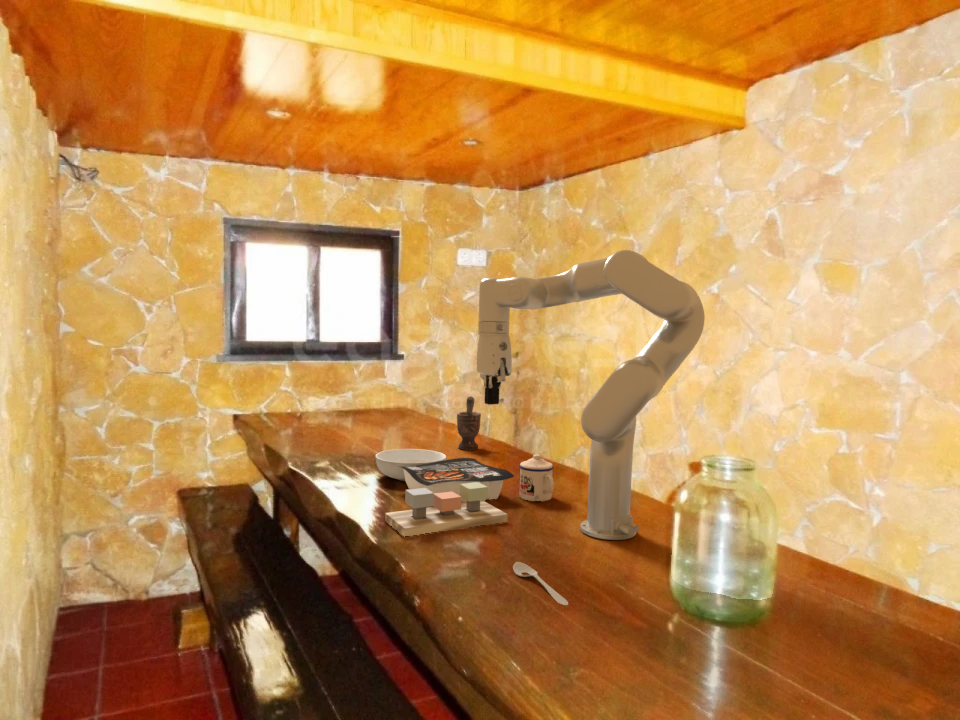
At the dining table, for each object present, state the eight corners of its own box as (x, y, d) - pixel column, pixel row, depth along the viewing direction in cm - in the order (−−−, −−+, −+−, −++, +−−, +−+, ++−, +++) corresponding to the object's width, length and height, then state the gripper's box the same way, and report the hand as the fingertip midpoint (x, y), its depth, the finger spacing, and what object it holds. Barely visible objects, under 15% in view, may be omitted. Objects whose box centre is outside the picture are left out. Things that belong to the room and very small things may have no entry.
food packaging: (427, 483, 161) (394, 463, 181) (427, 513, 161) (394, 490, 181) (514, 473, 173) (474, 456, 193) (513, 501, 173) (474, 481, 193)
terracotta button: (460, 521, 153) (461, 496, 152) (441, 523, 151) (441, 499, 150) (451, 515, 157) (452, 491, 157) (432, 517, 155) (433, 493, 155)
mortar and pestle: (487, 452, 234) (488, 396, 233) (465, 453, 230) (466, 397, 229) (474, 445, 245) (475, 392, 243) (452, 447, 241) (453, 393, 240)
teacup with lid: (512, 495, 178) (513, 453, 178) (539, 491, 183) (540, 450, 182) (537, 506, 168) (539, 462, 167) (565, 502, 173) (567, 459, 172)
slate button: (433, 518, 149) (434, 493, 149) (413, 520, 147) (413, 495, 147) (424, 511, 154) (425, 487, 153) (404, 514, 152) (405, 489, 151)
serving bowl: (455, 484, 189) (455, 460, 188) (383, 489, 181) (384, 464, 181) (434, 467, 208) (434, 446, 208) (368, 471, 201) (368, 449, 200)
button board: (507, 522, 155) (507, 514, 155) (404, 537, 143) (404, 528, 142) (483, 508, 165) (483, 500, 165) (385, 521, 153) (385, 512, 153)
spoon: (525, 568, 128) (526, 559, 128) (586, 612, 110) (587, 602, 110) (507, 570, 126) (507, 562, 126) (565, 616, 108) (566, 606, 108)
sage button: (487, 510, 156) (487, 486, 156) (468, 513, 154) (469, 489, 153) (477, 505, 160) (478, 481, 160) (459, 507, 158) (459, 483, 158)
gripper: (523, 330, 155) (520, 407, 156) (492, 328, 168) (490, 399, 169) (495, 330, 151) (493, 408, 152) (466, 328, 164) (464, 400, 166)
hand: (491, 403), depth 161 cm, fingers closed
